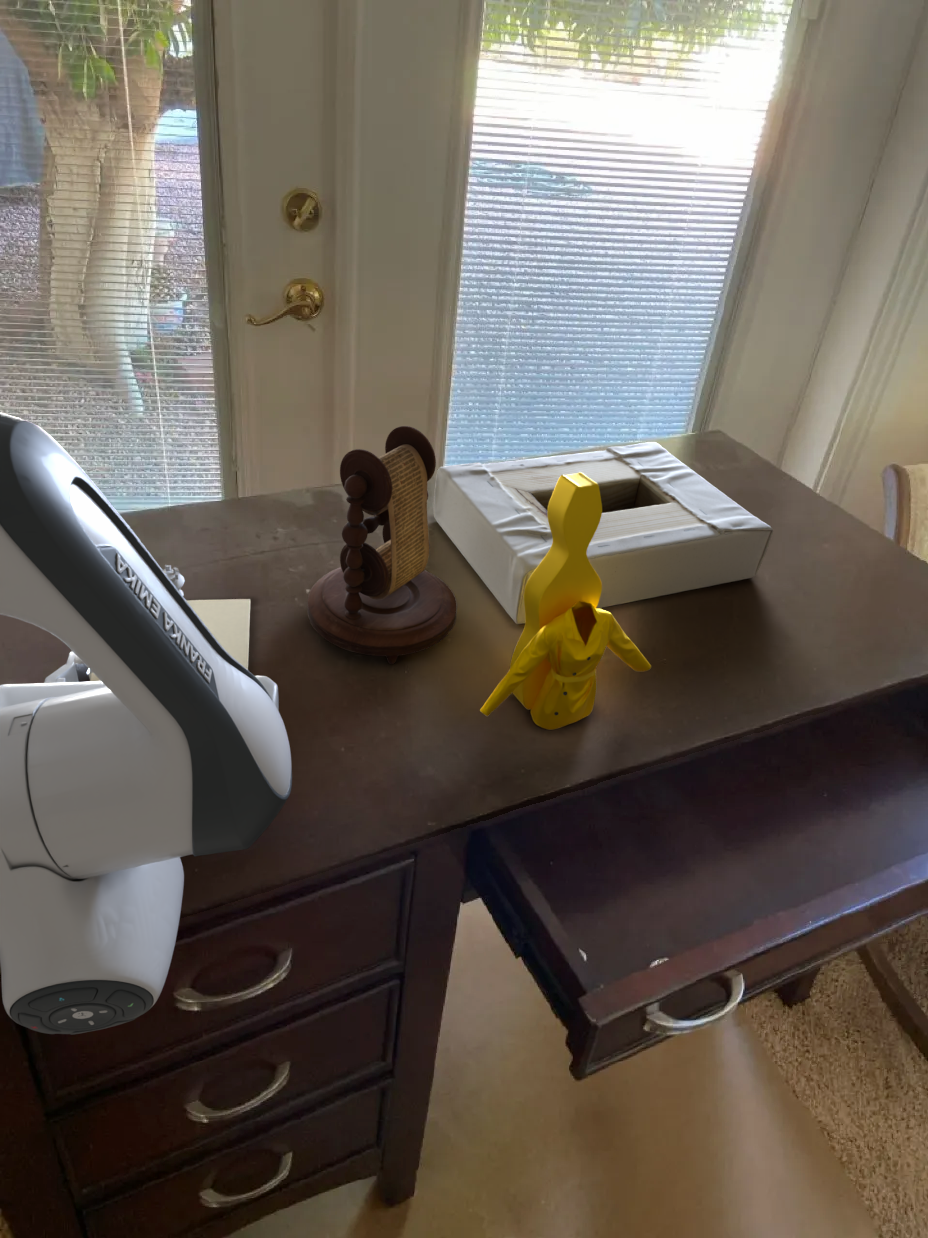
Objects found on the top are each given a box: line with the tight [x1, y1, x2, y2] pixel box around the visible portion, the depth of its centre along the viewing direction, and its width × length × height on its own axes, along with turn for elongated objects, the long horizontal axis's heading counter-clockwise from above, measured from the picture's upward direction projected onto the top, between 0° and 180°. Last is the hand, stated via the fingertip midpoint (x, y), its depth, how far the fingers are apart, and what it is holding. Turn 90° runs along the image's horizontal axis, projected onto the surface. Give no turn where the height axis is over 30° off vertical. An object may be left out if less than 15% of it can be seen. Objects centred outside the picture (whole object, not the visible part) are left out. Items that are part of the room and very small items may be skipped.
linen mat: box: [90, 598, 251, 682], centre depth 83 cm, size 14×14×1 cm
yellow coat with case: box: [479, 472, 652, 731], centre depth 75 cm, size 18×8×22 cm, turn 117°
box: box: [433, 441, 774, 625], centre depth 103 cm, size 23×8×32 cm
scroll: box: [307, 425, 458, 665], centre depth 84 cm, size 15×15×20 cm
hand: (146, 656), depth 69 cm, fingers open, 8 cm apart
